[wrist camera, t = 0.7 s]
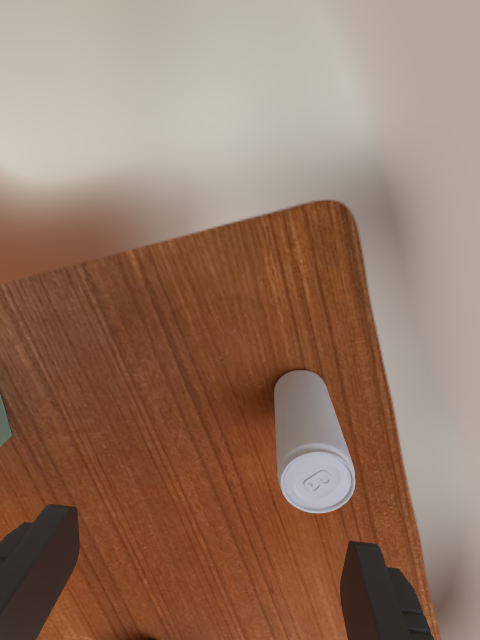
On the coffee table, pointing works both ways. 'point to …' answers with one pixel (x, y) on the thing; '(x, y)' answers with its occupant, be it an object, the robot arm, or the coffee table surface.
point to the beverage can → (310, 445)
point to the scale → (4, 424)
